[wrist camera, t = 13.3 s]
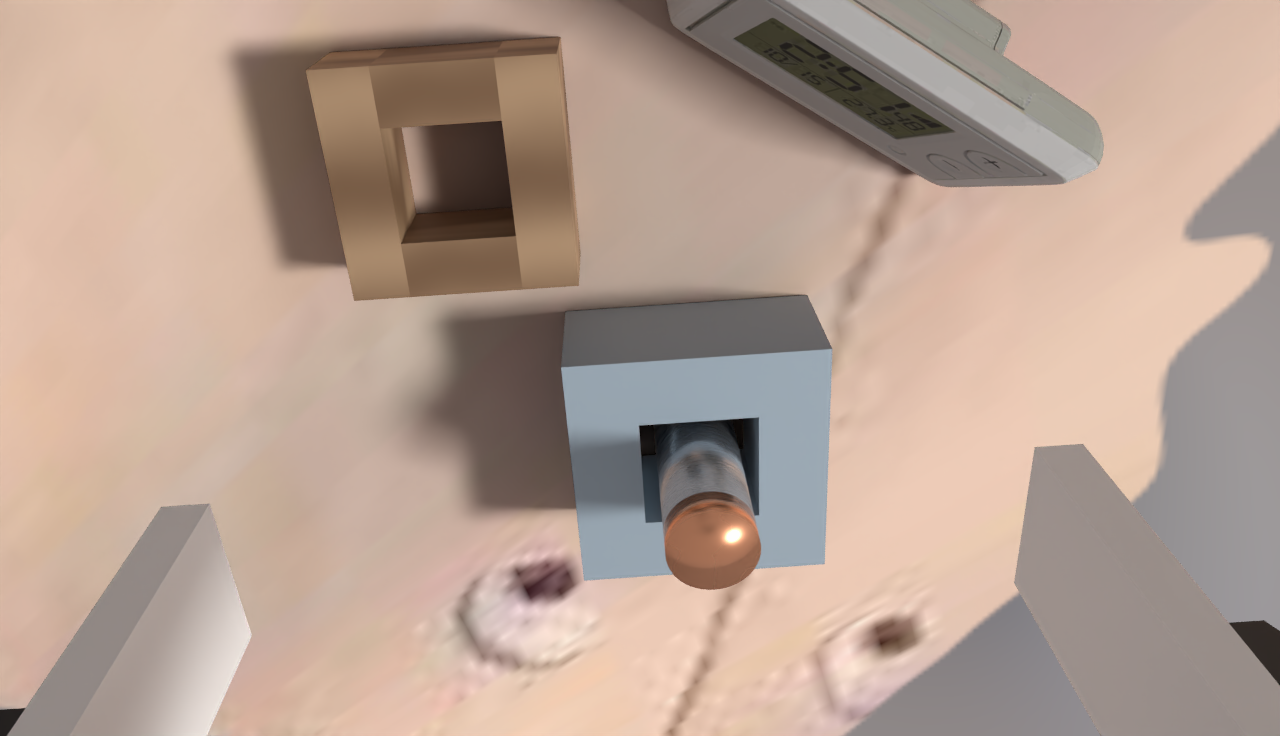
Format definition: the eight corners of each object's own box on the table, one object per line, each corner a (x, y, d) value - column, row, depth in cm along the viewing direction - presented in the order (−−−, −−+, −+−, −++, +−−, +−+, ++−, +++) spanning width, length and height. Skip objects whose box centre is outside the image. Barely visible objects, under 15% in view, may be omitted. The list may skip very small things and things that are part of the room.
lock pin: (650, 376, 51) (663, 516, 40) (727, 371, 51) (761, 509, 40) (654, 442, 52) (667, 592, 42) (729, 437, 52) (761, 586, 42)
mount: (330, 52, 43) (305, 70, 39) (560, 37, 43) (556, 53, 39) (372, 267, 47) (354, 300, 44) (580, 253, 47) (578, 285, 44)
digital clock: (641, -8, 42) (652, 32, 33) (791, -189, 39) (851, -203, 30) (893, 228, 47) (966, 321, 38) (1042, 84, 44) (1161, 146, 35)
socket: (565, 311, 49) (560, 367, 43) (807, 295, 49) (832, 348, 43) (585, 509, 54) (584, 580, 49) (802, 494, 54) (824, 564, 49)
